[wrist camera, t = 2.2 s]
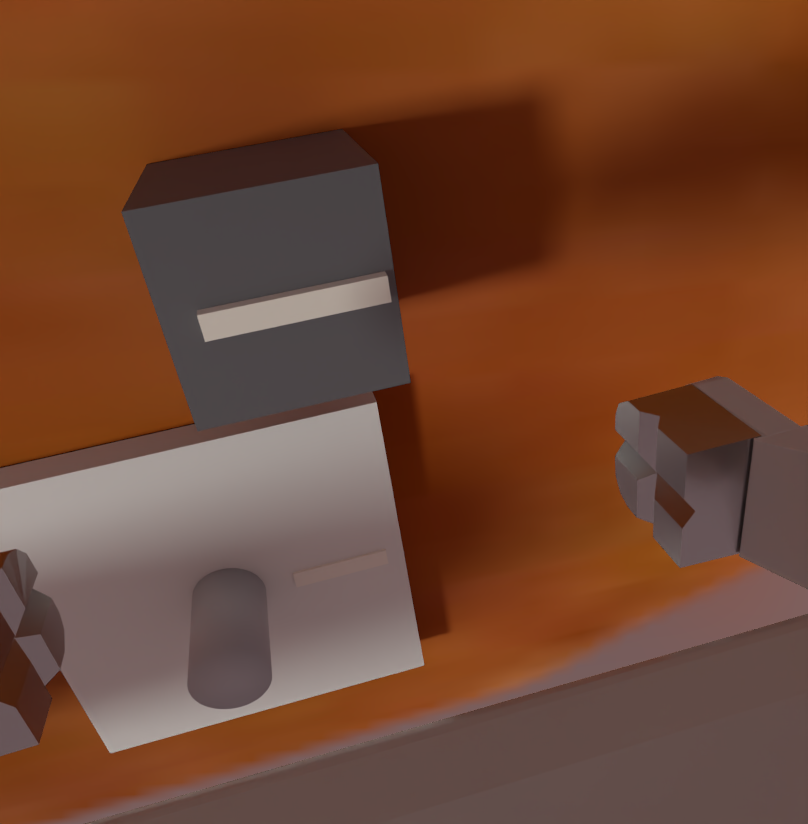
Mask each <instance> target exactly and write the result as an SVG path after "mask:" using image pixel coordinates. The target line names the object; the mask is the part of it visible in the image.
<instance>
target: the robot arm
mask: <svg viewBox="0 0 808 824" xmlns="http://www.w3.org/2000/svg"><path fill="white" fill-rule="evenodd" d="M615 430H616V431H617V432H618V433H619V434H620V435H621V436H622V437H623V438H624V439H625V442H624V443H623V445H622V446H621V448H620V449H619V451H618V452H617V454H616V456H615V465H616V478H617V482H618V485H619V489H620V492H621V495H622V497H623V499H624V500H625V502H626V504H627V506H628V507H629V509H630V510H631V511H632V512H633V513H634V515H635V516H636V517H637V518H640V519H643V520H645V521H648V522H650V523H653V524H654V529H653V537H654V538H655V540H656V541H657V542H658V543H659V544H660V545H661V547H662V548H663V549H664V550H665V551H666V552H667V553H668V555H669V556H670V557H671V558H672V559H673V560H674V562H675V563H676V564H677V565H678V566H679V567H680V568H681V567H686V566H690V565H694V564H698V563H702V562H706V561H710V560H714V559H718V558H722V557H726V556H730V555H734V554H738V553H740V554H739V556H740V557H742V558H744V559H746V560H748V561H750V562H752V563H754V564H756V565H759V566H761V567H763V568H765V569H767V570H769V571H771V572H773V573H775V574H777V575H779V576H781V577H783V578H786V579H788V580H790V581H792V582H794V583H796V584H798V585H800V586H802V587H804V588H806V589H808V425H806V426H802V427H801V426H799V425H798V424H796V423H795V422H793V421H792V420H790V419H789V418H787V417H786V416H784V415H783V414H781V413H780V412H778V411H777V410H775V409H774V408H772V407H771V406H769V405H768V404H766V403H765V402H763V401H762V400H760V399H759V398H757V397H756V396H754V395H753V394H751V393H750V392H748V391H747V390H745V389H744V388H742V387H741V386H739V385H738V384H736V383H735V382H733V381H732V380H730V379H729V378H726V377H720V376H717V377H713V378H710V379H706V380H703V381H699V382H695V383H692V384H688V385H685V386H683V387H679V388H675V389H671V390H668V391H664V392H660V393H656V394H653V395H649V396H645V397H641V398H638V399H634V400H630V401H626V402H623V403H619V405H618V408H617V412H616V424H615ZM37 574H38V572H37V570H36V568H35V567H34V565H33V563H32V562H31V560H30V558H29V557H28V555H27V553H25V552H22V551H20V550H18V549H13V550H9V551H4V552H0V756H2V755H5V754H9V753H12V752H15V751H19V750H22V749H25V748H28V747H32V746H35V745H38V744H39V743H40V739H41V736H42V732H43V729H44V725H45V722H46V718H47V715H48V711H49V708H50V704H51V701H52V697H51V695H50V694H49V692H48V690H47V689H46V687H45V685H46V684H47V683H48V682H49V681H50V680H51V679H52V678H53V677H54V676H55V675H56V674H57V673H58V671H59V670H60V669H61V665H62V661H63V657H64V653H65V637H64V627H63V623H62V620H61V616H60V613H59V611H58V609H57V607H56V605H55V603H54V601H53V599H52V598H51V597H49V596H47V595H45V594H43V593H41V592H39V591H37V590H35V589H33V586H34V583H35V580H36V577H37ZM85 824H808V614H805V615H802V616H798V617H795V618H792V619H788V620H785V621H782V622H778V623H775V624H771V625H768V626H764V627H761V628H758V629H754V630H751V631H747V632H744V633H741V634H737V635H734V636H730V637H727V638H723V639H720V640H716V641H713V642H709V643H706V644H702V645H699V646H696V647H692V648H688V649H685V650H681V651H678V652H675V653H671V654H668V655H664V656H661V657H657V658H654V659H650V660H647V661H643V662H640V663H636V664H633V665H629V666H626V667H622V668H619V669H616V670H612V671H609V672H606V673H602V674H599V675H595V676H591V677H588V678H584V679H581V680H577V681H574V682H570V683H567V684H563V685H560V686H557V687H553V688H550V689H546V690H543V691H539V692H536V693H532V694H529V695H525V696H522V697H518V698H515V699H511V700H508V701H504V702H501V703H498V704H494V705H491V706H487V707H484V708H480V709H477V710H474V711H470V712H467V713H463V714H460V715H456V716H453V717H450V718H446V719H443V720H439V721H436V722H432V723H429V724H426V725H422V726H419V727H415V728H412V729H408V730H405V731H401V732H398V733H395V734H391V735H388V736H384V737H381V738H377V739H374V740H371V741H367V742H364V743H360V744H357V745H353V746H350V747H347V748H343V749H340V750H336V751H333V752H329V753H326V754H323V755H319V756H316V757H312V758H309V759H305V760H302V761H299V762H295V763H292V764H288V765H285V766H281V767H278V768H275V769H271V770H268V771H264V772H261V773H257V774H254V775H251V776H247V777H244V778H240V779H237V780H233V781H230V782H227V783H223V784H220V785H216V786H213V787H209V788H206V789H202V790H199V791H196V792H192V793H189V794H185V795H182V796H178V797H175V798H171V799H168V800H165V801H161V802H158V803H154V804H151V805H147V806H144V807H140V808H137V809H134V810H130V811H127V812H123V813H120V814H116V815H113V816H109V817H106V818H103V819H99V820H96V821H92V822H89V823H85Z"/></svg>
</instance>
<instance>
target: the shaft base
mask: <svg viewBox="0 0 808 824" xmlns="http://www.w3.org/2000/svg"><path fill="white" fill-rule="evenodd" d="M13 549H18V550H20V551H22V552H25V553H27V555H28V557H29V558H30V560H31V562H32V563H33V565H34V567H35V568H36V570H37V572H38V574H37V577H36V580H35V583H34V586H33V589H35V590H37V591H39V592H41V593H43V594H45V595H47V596H49V597H51V598H52V599H53V601H54V603H55V605H56V607H57V609H58V611H59V613H60V616H61V620H62V623H63V627H64V637H65V653H64V657H63V661H62V665H61V669H60V670H61V672H62V673H63V675H64V677H65V678H66V680H67V682H68V683H69V685H70V687H71V689H72V690H73V692H74V694H75V695H76V697H77V699H78V700H79V702H80V704H81V705H82V707H83V709H84V710H85V712H86V714H87V715H88V717H89V719H90V720H91V722H92V724H93V725H94V727H95V729H96V730H97V732H98V734H99V735H100V737H101V739H102V740H103V742H104V744H105V745H106V747H107V749H108V750H109V752H110V753H113V752H117V751H121V750H124V749H128V748H131V747H135V746H138V745H142V744H145V743H149V742H153V741H156V740H160V739H163V738H167V737H170V736H174V735H178V734H181V733H185V732H188V731H192V730H195V729H199V728H203V727H206V726H210V725H213V724H217V723H220V722H224V721H227V720H231V719H235V718H238V717H242V716H245V715H249V714H252V713H256V712H260V711H263V710H267V709H270V708H274V707H277V706H281V705H285V704H288V703H292V702H295V701H299V700H302V699H306V698H309V697H313V696H317V695H320V694H324V693H327V692H331V691H334V690H338V689H342V688H345V687H349V686H352V685H356V684H359V683H363V682H367V681H370V680H374V679H377V678H381V677H384V676H388V675H391V674H395V673H399V672H402V671H406V670H409V669H413V668H416V667H420V666H424V661H423V656H422V650H421V645H420V639H419V634H418V628H417V623H416V617H415V612H414V606H413V601H412V595H411V590H410V584H409V578H408V573H407V567H406V562H405V556H404V551H403V545H402V540H401V534H400V529H399V523H398V518H397V512H396V507H395V501H394V496H393V490H392V484H391V479H390V473H389V468H388V462H387V457H386V451H385V446H384V440H383V435H382V429H381V424H380V418H379V413H378V407H377V402H376V399H375V397H374V394H373V392H368V393H363V394H359V395H355V396H350V397H346V398H342V399H337V400H333V401H329V402H324V403H320V404H315V405H311V406H307V407H302V408H298V409H294V410H289V411H285V412H281V413H276V414H272V415H267V416H263V417H259V418H254V419H250V420H246V421H241V422H237V423H233V424H228V425H224V426H219V427H215V428H211V429H206V430H202V431H197V429H196V426H195V424H192V425H188V426H183V427H179V428H175V429H170V430H166V431H161V432H157V433H153V434H148V435H144V436H139V437H135V438H131V439H126V440H122V441H117V442H113V443H109V444H104V445H100V446H96V447H91V448H87V449H82V450H78V451H74V452H69V453H65V454H60V455H56V456H52V457H47V458H43V459H38V460H34V461H30V462H25V463H21V464H16V465H12V466H8V467H3V468H0V552H4V551H9V550H13Z"/></svg>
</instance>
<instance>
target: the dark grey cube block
mask: <svg viewBox="0 0 808 824" xmlns="http://www.w3.org/2000/svg"><path fill="white" fill-rule="evenodd" d="M122 215H123V218H124V221H125V224H126V226H127V229H128V232H129V235H130V238H131V241H132V244H133V247H134V250H135V252H136V255H137V258H138V261H139V264H140V267H141V270H142V273H143V276H144V278H145V281H146V284H147V287H148V290H149V293H150V296H151V299H152V302H153V304H154V307H155V310H156V313H157V316H158V319H159V322H160V325H161V328H162V330H163V333H164V336H165V339H166V342H167V345H168V348H169V351H170V353H171V356H172V359H173V362H174V365H175V368H176V371H177V374H178V377H179V379H180V382H181V385H182V388H183V391H184V394H185V397H186V400H187V403H188V405H189V408H190V411H191V414H192V417H193V420H194V423H195V426H196V429H197V431H202V430H206V429H211V428H215V427H219V426H224V425H228V424H233V423H237V422H241V421H246V420H250V419H254V418H259V417H263V416H267V415H272V414H276V413H281V412H285V411H289V410H294V409H298V408H302V407H307V406H311V405H315V404H320V403H324V402H329V401H333V400H337V399H342V398H346V397H350V396H355V395H359V394H363V393H368V392H372V391H377V390H381V389H385V388H390V387H394V386H398V385H403V384H407V383H411V381H410V375H409V368H408V361H407V355H406V348H405V341H404V334H403V328H402V321H401V314H400V307H399V301H398V294H397V287H396V281H395V274H394V267H393V260H392V254H391V247H390V240H389V233H388V227H387V220H386V213H385V206H384V200H383V193H382V186H381V180H380V173H379V166H378V163H377V162H376V161H375V160H374V159H373V158H372V157H371V156H370V155H369V154H368V153H367V152H366V151H365V150H364V149H363V148H361V147H360V146H359V145H358V144H357V143H356V142H355V141H354V140H353V139H352V138H351V137H350V136H349V135H348V134H347V133H346V132H345V131H344V130H343V129H339V130H333V131H328V132H322V133H317V134H311V135H306V136H300V137H295V138H289V139H284V140H278V141H272V142H267V143H261V144H256V145H250V146H245V147H239V148H234V149H228V150H223V151H217V152H212V153H206V154H201V155H195V156H190V157H184V158H179V159H173V160H168V161H162V162H157V163H151V164H147V165H146V167H145V169H144V171H143V173H142V174H141V176H140V178H139V180H138V182H137V184H136V186H135V187H134V189H133V191H132V193H131V195H130V197H129V199H128V201H127V202H126V204H125V206H124V208H123V210H122Z"/></svg>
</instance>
